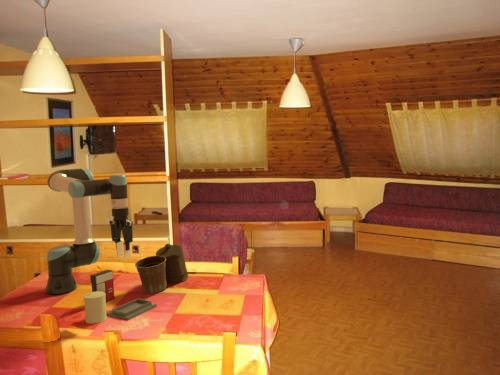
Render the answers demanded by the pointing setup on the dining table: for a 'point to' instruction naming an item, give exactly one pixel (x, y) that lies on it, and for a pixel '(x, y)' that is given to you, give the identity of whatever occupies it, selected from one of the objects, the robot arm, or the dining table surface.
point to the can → (95, 307)
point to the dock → (132, 309)
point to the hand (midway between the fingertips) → (123, 256)
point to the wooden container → (173, 263)
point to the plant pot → (152, 273)
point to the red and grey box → (103, 283)
